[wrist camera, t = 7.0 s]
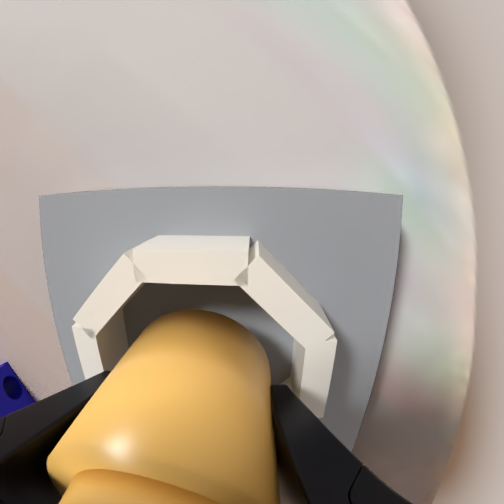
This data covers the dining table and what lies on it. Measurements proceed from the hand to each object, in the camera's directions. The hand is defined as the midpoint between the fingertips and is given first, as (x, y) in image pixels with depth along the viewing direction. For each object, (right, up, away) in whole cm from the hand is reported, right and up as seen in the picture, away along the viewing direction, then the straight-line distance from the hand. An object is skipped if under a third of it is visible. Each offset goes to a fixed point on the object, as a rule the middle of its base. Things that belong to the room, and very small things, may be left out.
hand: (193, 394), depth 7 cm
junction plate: (0, -2, +5) cm, 5 cm away
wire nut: (0, 0, +1) cm, 1 cm away
